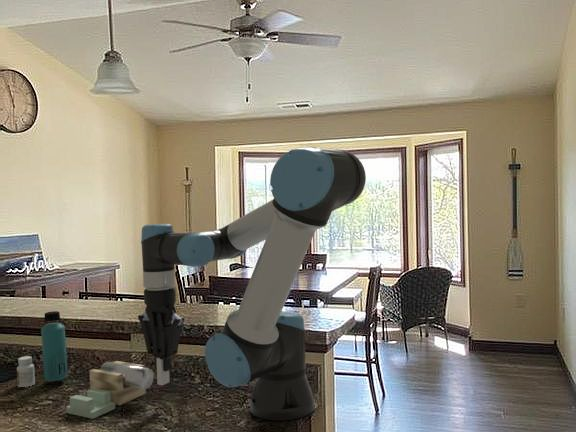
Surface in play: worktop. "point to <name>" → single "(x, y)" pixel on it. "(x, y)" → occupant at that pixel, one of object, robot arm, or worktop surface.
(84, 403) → the v block
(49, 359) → the beverage bottle
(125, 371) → the axle
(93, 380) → the wooden bracket
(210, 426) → the worktop surface
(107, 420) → the worktop surface
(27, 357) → the pill bottle
